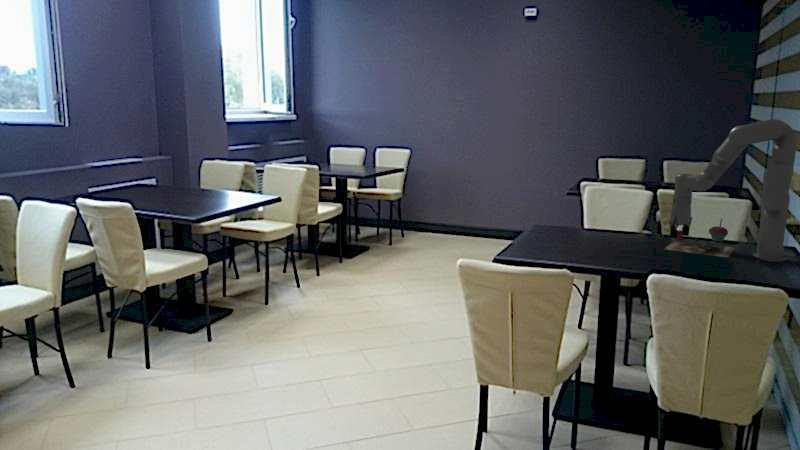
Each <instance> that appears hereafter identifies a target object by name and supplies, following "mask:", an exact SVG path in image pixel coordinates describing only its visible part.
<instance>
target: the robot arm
mask: <svg viewBox="0 0 800 450" xmlns="http://www.w3.org/2000/svg"><path fill="white" fill-rule="evenodd" d="M768 141H772V151H771V157H770V162H769V165H768V167H767V168H766V170H765V172H764V176H763V183H762V188H761V195H760V203H761V206H762V207H761V214H760V222H759V230H758V235H757V244H756V252H754V253H752V256H753V257H757V258H756V260H761V261H763V262H773V263H774V262H776V263H777V262H778V263H779V262H780V263H782V262H786V260H787V258H792V259H794V258H795V253H794V252H793V253H792V252H788V251H787V252H786V251H784V250H785V249H784V242H785V234H786V227H787V220H788V211H789V206H790V202H791V201H790V199H791V195H790V187H791V181H792V178H793V176H794V168H795V167H794V166H795V162H796V161H795V160H796V153H797V145H798V143H797V134H796V133H795V131H794V129H793V128H792V127H791V126H790V125H789V124H788V123H786V122H784V121H782V120H781V119H776V118H773V119H766V120H762V121H761V120H760V121H757V122H753V123H752V122H751V123H747V124H743V125H737V126H734V127H733V128H732V129H731V130H730V131H729V133H728V136H727V137H726V138H725V140H723V142H722V144H720V146H719V147H718V148H717V149H716V150H715V152H714V153H713V155H712V159H711V160H710V161H709V164H708V165H707V166H706V167H705V168H704V169H703V171H702V172H700V174H698V175H693V174H689V173H679V174H676V175H675V179H674V192H673V203H672V206H671V210H670V216H669V217H670V218H669V220H668V222H669V229H670V231H669V232H670V234H669V238H671V239H676V238H677V233H678V228H679V226H682V229H681V231H683V234H682V236H686V237H688V236H690V228H691V225H692V224H691V223H692V220H693V217H692V206H691V205H692V199H693V198H692V197H693V191H694V192H705V191H707V190H710V189H711V188H712V187H713V186H714V185H715V184H716V183H717V182H718V181H719V179H720V178H721V176H723V174H724V173H725V172H726V171H727V170H728V169H729V167H730V166H731V165H732V164H733V163H734V162H735V161H736V159H737V158H738V156H740V155H741V154H742V152H743V151H744V150H745V149H746V148H747V146H749V145H753V144H758V143H763V142H768Z"/></svg>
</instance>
